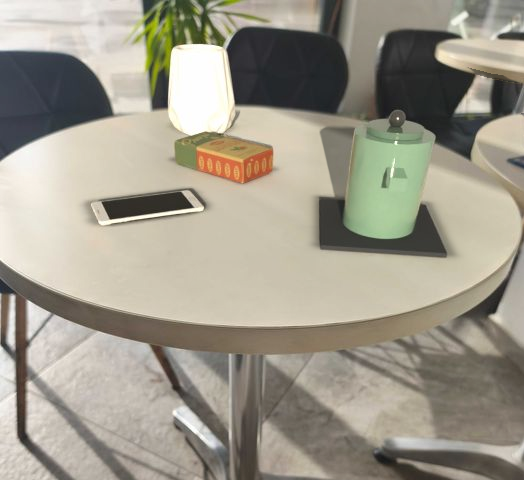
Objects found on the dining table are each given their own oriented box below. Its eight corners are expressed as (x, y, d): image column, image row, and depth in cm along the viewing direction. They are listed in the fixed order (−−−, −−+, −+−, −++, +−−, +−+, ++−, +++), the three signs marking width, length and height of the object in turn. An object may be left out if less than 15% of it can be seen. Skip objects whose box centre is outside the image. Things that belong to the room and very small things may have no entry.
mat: (424, 208, 75) (425, 204, 75) (446, 257, 63) (447, 253, 62) (319, 202, 76) (320, 198, 76) (320, 249, 64) (320, 245, 63)
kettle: (424, 254, 62) (456, 131, 53) (344, 249, 63) (362, 126, 53) (405, 201, 76) (427, 96, 67) (339, 197, 76) (353, 93, 67)
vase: (182, 118, 113) (176, 40, 103) (242, 123, 111) (242, 45, 101) (159, 135, 102) (151, 50, 92) (226, 141, 100) (224, 54, 90)
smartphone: (205, 207, 71) (98, 222, 66) (205, 211, 72) (99, 226, 67) (189, 189, 77) (90, 202, 72) (189, 193, 77) (90, 206, 72)
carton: (242, 185, 81) (242, 158, 78) (174, 163, 88) (171, 138, 86) (273, 172, 86) (274, 147, 83) (206, 153, 94) (205, 129, 91)
